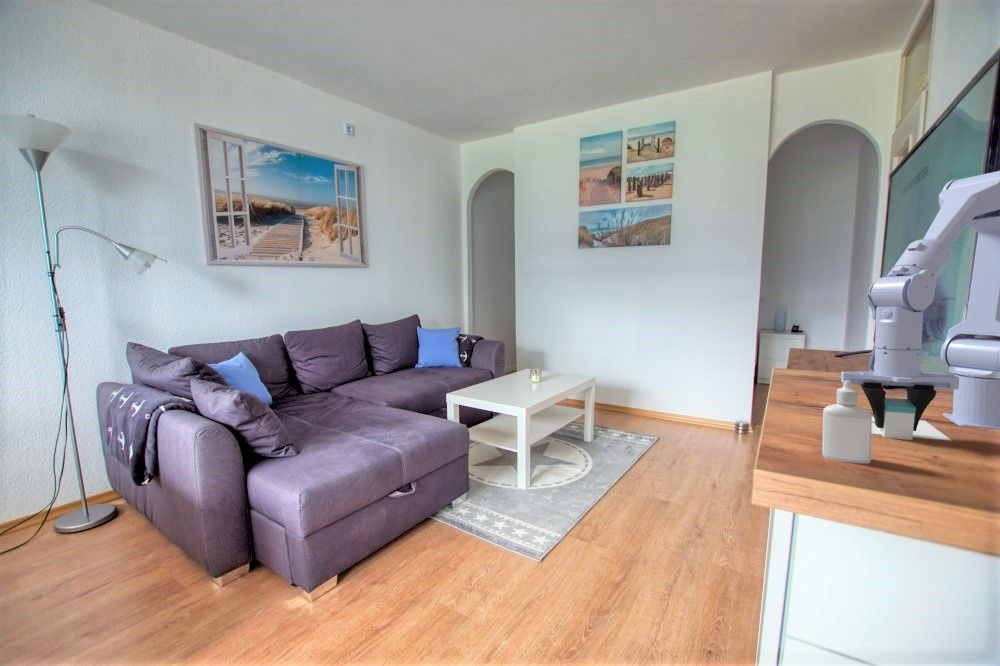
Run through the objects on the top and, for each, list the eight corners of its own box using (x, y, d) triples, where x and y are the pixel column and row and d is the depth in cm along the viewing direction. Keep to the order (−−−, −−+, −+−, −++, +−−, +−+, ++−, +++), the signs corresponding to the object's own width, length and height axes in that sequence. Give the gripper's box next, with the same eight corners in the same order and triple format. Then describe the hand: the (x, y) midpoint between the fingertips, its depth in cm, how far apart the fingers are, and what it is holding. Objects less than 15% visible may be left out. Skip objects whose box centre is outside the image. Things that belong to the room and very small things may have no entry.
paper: (925, 422, 81) (925, 420, 81) (951, 442, 70) (951, 440, 70) (843, 416, 87) (843, 414, 87) (857, 433, 76) (857, 431, 76)
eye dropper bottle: (861, 469, 62) (863, 386, 61) (817, 457, 67) (818, 380, 66) (875, 462, 64) (877, 382, 63) (831, 451, 69) (833, 376, 68)
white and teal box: (905, 431, 74) (908, 399, 73) (912, 441, 71) (915, 408, 70) (878, 429, 76) (880, 397, 75) (883, 439, 73) (886, 406, 72)
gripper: (847, 350, 73) (845, 429, 74) (969, 352, 65) (965, 440, 67) (839, 345, 79) (838, 418, 80) (950, 346, 72) (946, 427, 73)
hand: (895, 427), depth 74 cm, fingers closed on white and teal box, 3 cm apart
